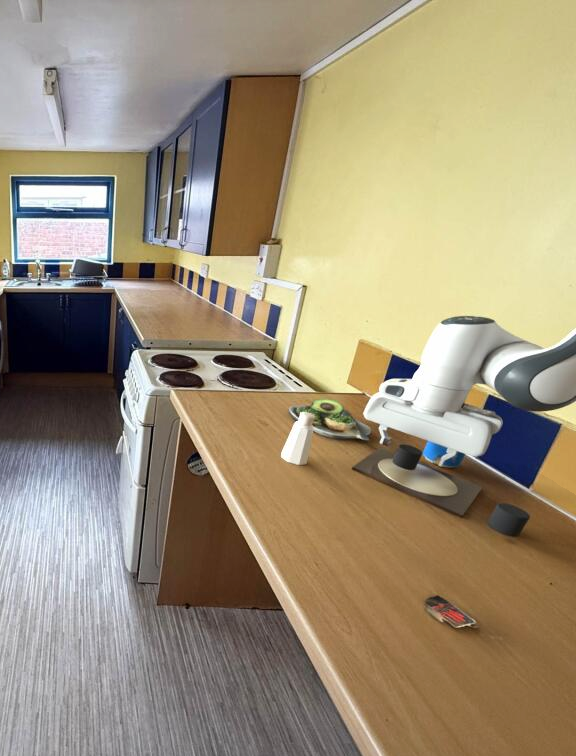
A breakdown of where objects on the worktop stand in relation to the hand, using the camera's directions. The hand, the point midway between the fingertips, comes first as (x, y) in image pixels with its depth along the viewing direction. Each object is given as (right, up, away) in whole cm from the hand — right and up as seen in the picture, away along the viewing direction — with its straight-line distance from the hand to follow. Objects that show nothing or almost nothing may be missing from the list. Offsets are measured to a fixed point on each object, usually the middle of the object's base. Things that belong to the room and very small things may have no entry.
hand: (409, 453), depth 87 cm
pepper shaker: (-24, -2, +2) cm, 24 cm away
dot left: (0, -3, +1) cm, 3 cm away
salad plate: (-5, +4, +20) cm, 21 cm away
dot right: (+3, -10, -16) cm, 19 cm away
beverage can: (+11, -3, +5) cm, 12 cm away
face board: (-1, -5, -2) cm, 6 cm away
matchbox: (-23, -16, -33) cm, 43 cm away
